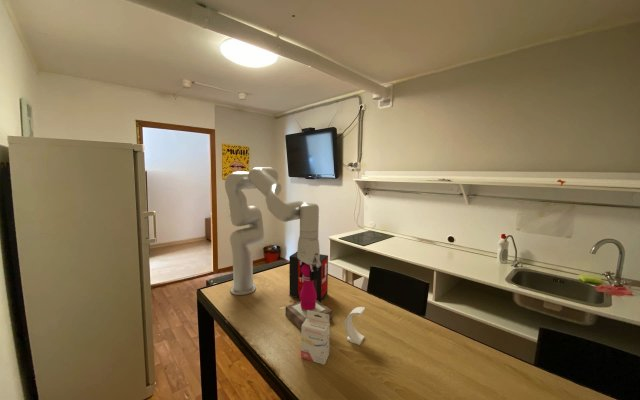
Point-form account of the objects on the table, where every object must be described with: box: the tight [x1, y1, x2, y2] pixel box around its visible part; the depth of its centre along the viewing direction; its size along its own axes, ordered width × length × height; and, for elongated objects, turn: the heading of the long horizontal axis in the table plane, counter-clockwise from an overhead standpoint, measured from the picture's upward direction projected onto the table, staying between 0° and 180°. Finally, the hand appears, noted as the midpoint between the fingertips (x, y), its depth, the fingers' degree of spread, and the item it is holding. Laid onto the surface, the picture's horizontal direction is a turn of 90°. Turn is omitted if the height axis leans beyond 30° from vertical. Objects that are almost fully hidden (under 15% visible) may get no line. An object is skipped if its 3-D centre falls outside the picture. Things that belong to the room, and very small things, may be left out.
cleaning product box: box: [288, 251, 329, 303], centre depth 126 cm, size 16×9×20 cm, turn 68°
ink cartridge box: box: [300, 310, 331, 366], centre depth 84 cm, size 9×5×15 cm, turn 71°
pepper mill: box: [299, 264, 317, 310], centre depth 106 cm, size 7×7×20 cm
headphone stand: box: [344, 306, 366, 346], centre depth 94 cm, size 5×6×12 cm
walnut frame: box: [285, 300, 333, 330], centre depth 107 cm, size 14×14×4 cm
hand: (308, 276), depth 105 cm, fingers open, 6 cm apart
